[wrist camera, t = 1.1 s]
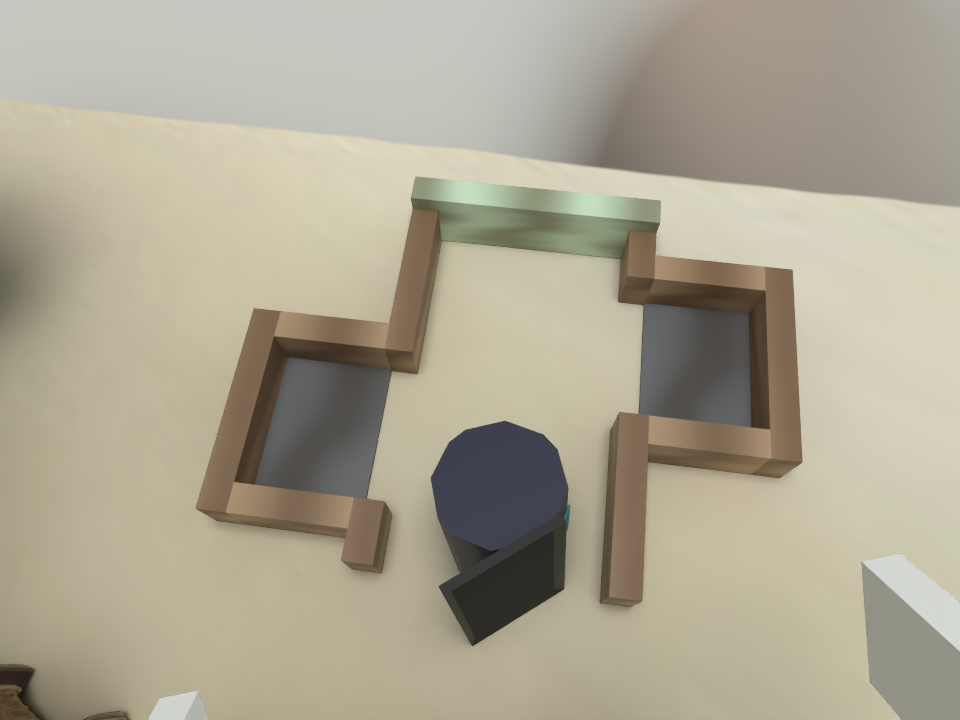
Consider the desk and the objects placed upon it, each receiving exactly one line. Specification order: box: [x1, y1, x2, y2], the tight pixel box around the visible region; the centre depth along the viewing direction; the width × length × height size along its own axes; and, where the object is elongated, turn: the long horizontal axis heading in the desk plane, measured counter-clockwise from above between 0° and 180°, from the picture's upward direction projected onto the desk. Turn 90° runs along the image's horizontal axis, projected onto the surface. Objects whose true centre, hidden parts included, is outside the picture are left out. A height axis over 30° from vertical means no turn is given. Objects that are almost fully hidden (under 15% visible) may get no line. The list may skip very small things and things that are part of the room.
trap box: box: [196, 177, 802, 607], centre depth 38 cm, size 29×22×4 cm
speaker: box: [431, 421, 570, 646], centre depth 32 cm, size 8×6×10 cm
